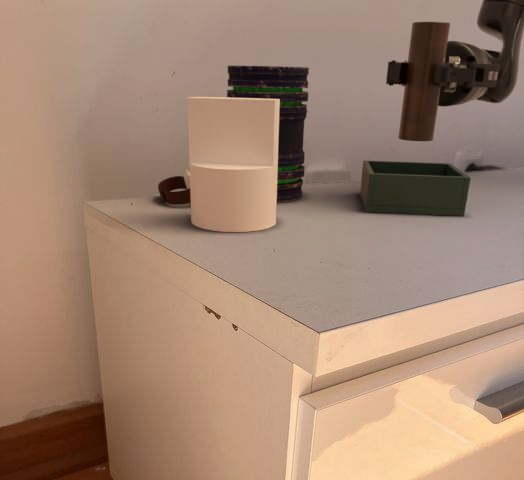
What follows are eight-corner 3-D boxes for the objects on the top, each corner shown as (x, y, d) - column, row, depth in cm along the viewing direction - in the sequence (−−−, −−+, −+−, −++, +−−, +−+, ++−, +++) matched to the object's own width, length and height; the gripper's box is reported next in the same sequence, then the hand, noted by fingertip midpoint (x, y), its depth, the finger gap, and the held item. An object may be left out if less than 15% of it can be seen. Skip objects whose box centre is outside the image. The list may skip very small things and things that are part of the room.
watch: (209, 206, 67) (208, 174, 65) (170, 209, 65) (169, 176, 64) (186, 194, 73) (185, 165, 72) (151, 197, 71) (149, 166, 70)
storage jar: (242, 186, 79) (243, 66, 73) (311, 191, 77) (318, 68, 70) (215, 199, 71) (213, 65, 64) (291, 205, 68) (297, 66, 62)
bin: (445, 197, 75) (450, 163, 73) (464, 216, 65) (470, 177, 63) (360, 193, 76) (363, 160, 74) (365, 212, 66) (369, 173, 64)
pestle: (429, 138, 69) (446, 24, 64) (435, 141, 66) (453, 22, 60) (396, 137, 69) (410, 24, 64) (400, 140, 66) (415, 21, 60)
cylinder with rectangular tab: (181, 229, 57) (176, 98, 52) (202, 210, 65) (199, 95, 60) (270, 234, 56) (274, 101, 51) (280, 214, 64) (284, 97, 59)
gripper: (407, 42, 77) (359, 34, 64) (518, 42, 71) (491, 34, 57) (399, 102, 80) (353, 107, 67) (505, 108, 74) (477, 114, 61)
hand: (417, 73), depth 62 cm, fingers closed on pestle, 4 cm apart
